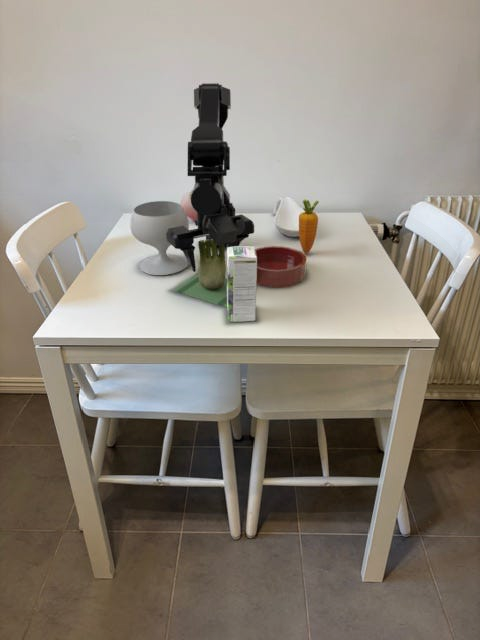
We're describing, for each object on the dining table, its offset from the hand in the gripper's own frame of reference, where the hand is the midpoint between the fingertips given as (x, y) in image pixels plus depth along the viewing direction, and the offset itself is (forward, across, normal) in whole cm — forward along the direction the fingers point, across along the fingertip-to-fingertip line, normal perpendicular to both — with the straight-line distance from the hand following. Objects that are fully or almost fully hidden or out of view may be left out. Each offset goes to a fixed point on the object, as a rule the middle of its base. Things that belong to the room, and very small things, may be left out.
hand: (212, 266), depth 109 cm
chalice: (+6, -6, +18) cm, 19 cm away
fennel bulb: (+6, 0, 0) cm, 6 cm away
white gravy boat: (+6, +37, +25) cm, 45 cm away
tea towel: (+6, 0, 0) cm, 6 cm away
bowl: (+6, +17, 0) cm, 18 cm away
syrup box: (+6, 0, -13) cm, 15 cm away
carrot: (+6, +30, +6) cm, 31 cm away
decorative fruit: (+6, +15, +44) cm, 47 cm away
